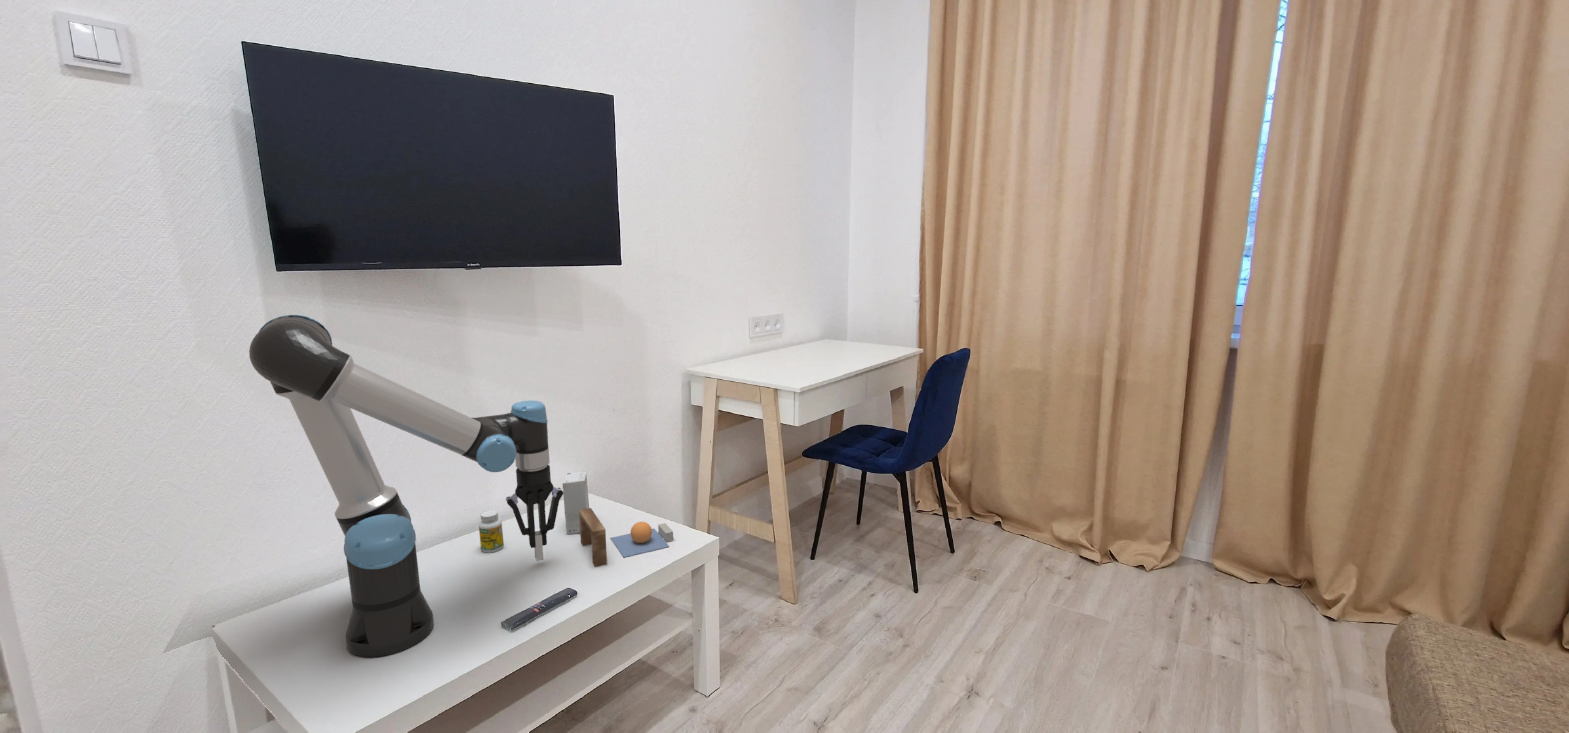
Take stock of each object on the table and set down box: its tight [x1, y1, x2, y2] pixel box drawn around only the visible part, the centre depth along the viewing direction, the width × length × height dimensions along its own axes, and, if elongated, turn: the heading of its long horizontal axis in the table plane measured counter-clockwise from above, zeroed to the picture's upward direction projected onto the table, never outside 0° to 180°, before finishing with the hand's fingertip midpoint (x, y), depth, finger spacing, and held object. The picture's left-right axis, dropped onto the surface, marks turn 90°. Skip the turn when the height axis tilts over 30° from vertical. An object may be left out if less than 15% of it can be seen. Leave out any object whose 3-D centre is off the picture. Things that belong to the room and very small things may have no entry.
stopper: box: [657, 522, 674, 543], centre depth 176 cm, size 2×6×2 cm, turn 30°
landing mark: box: [610, 527, 670, 559], centre depth 172 cm, size 12×12×1 cm
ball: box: [630, 521, 653, 543], centre depth 172 cm, size 6×6×6 cm
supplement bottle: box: [478, 509, 504, 554], centre depth 168 cm, size 5×5×10 cm
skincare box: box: [562, 471, 590, 535], centre depth 180 cm, size 8×6×15 cm
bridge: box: [579, 507, 608, 568], centre depth 166 cm, size 3×14×9 cm, turn 30°
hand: (539, 558), depth 160 cm, fingers closed
